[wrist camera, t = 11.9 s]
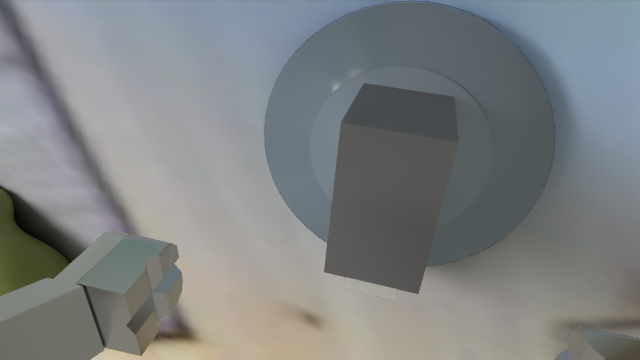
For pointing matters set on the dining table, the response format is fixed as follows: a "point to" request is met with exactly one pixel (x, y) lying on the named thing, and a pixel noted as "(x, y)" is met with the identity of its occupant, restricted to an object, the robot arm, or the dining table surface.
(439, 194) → the block
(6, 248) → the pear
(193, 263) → the dining table surface
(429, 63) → the plate
